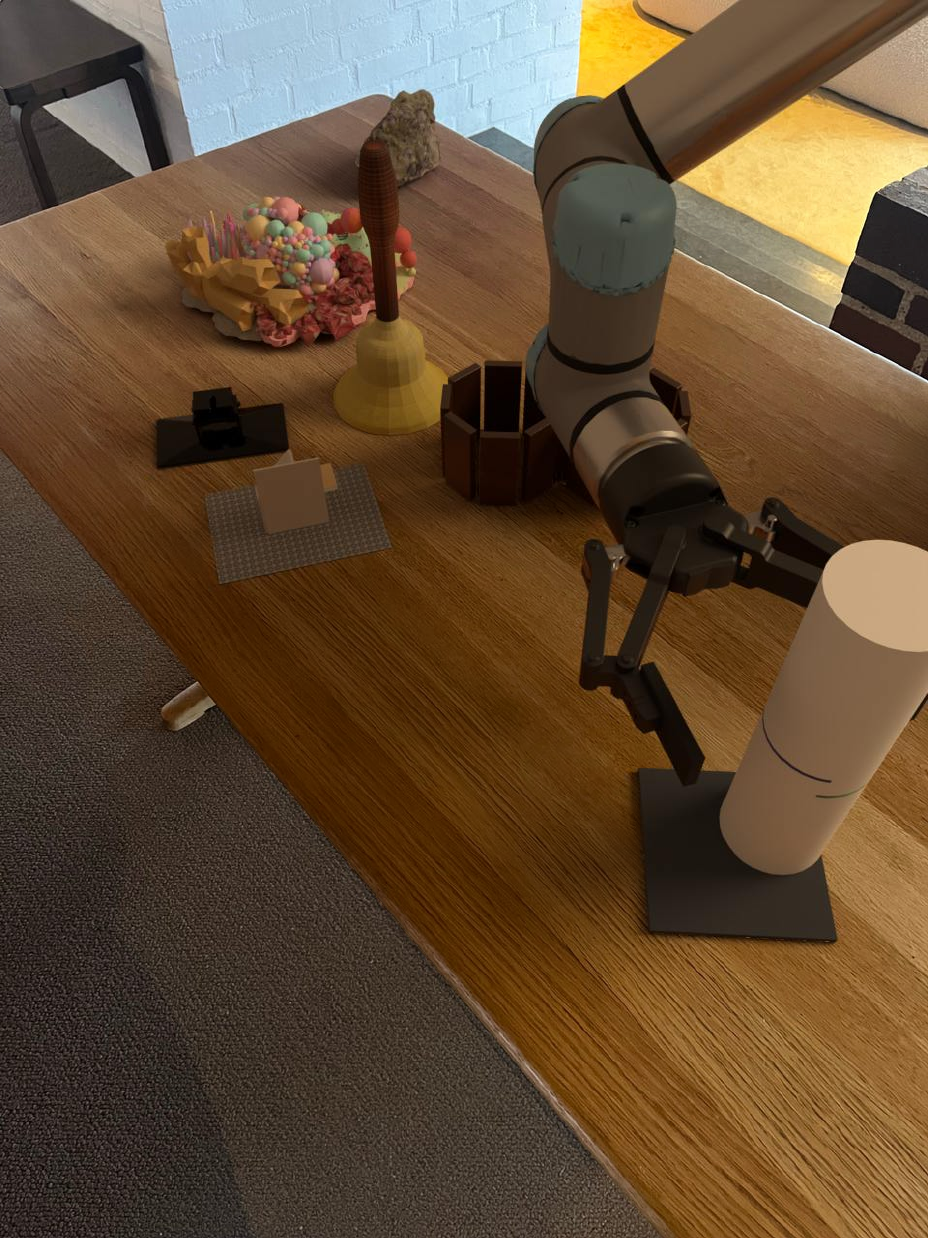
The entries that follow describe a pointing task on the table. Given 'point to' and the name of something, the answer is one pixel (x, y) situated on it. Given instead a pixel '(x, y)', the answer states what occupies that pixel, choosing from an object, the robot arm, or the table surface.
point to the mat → (718, 870)
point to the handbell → (386, 324)
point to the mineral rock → (409, 135)
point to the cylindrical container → (833, 706)
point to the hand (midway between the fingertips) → (808, 740)
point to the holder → (515, 435)
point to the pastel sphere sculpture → (284, 272)
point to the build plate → (220, 430)
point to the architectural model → (294, 519)
